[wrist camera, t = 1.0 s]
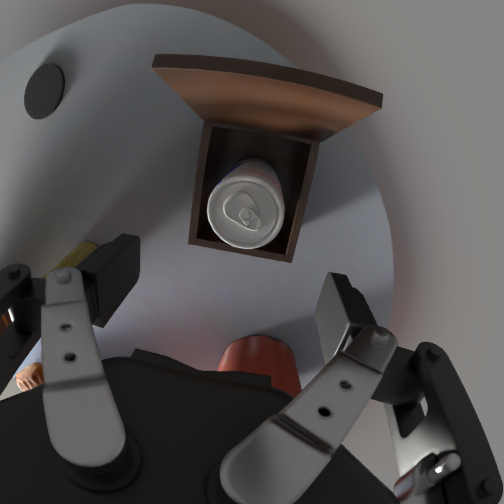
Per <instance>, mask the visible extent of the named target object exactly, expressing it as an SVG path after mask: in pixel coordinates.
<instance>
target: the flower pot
mask: <svg viewBox="0 0 504 504" xmlns="http://www.w3.org/2000/svg"><path fill="white" fill-rule="evenodd" d="M218 371H242V372H248V373H255V374H262V375H269V376H271V386H273V387H276V388H278V389H280V390H283V391H285V392H286V393H288V394H290V395H292V396H293V397H294V398H295V397H296V396H297V395H298V394H299V393H300V392H301V391H302V390H301V385H300V381H299V376H298V372H297V367H296V363H295V358H294V355H293V353H292V351H291V350H290V348H289V347H288V346H287V345H286V344H284V343H283V342H281V341H275V340H273V339H271V338H269V337H267V336H248V337H244V338H241V339H238V340H236V341H234V342H233V343H231V344H230V345H229V346H228V347H227V349H226V350H225V352H224V354H223V356H222V359H221V362H220V365H219V368H218Z"/></svg>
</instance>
